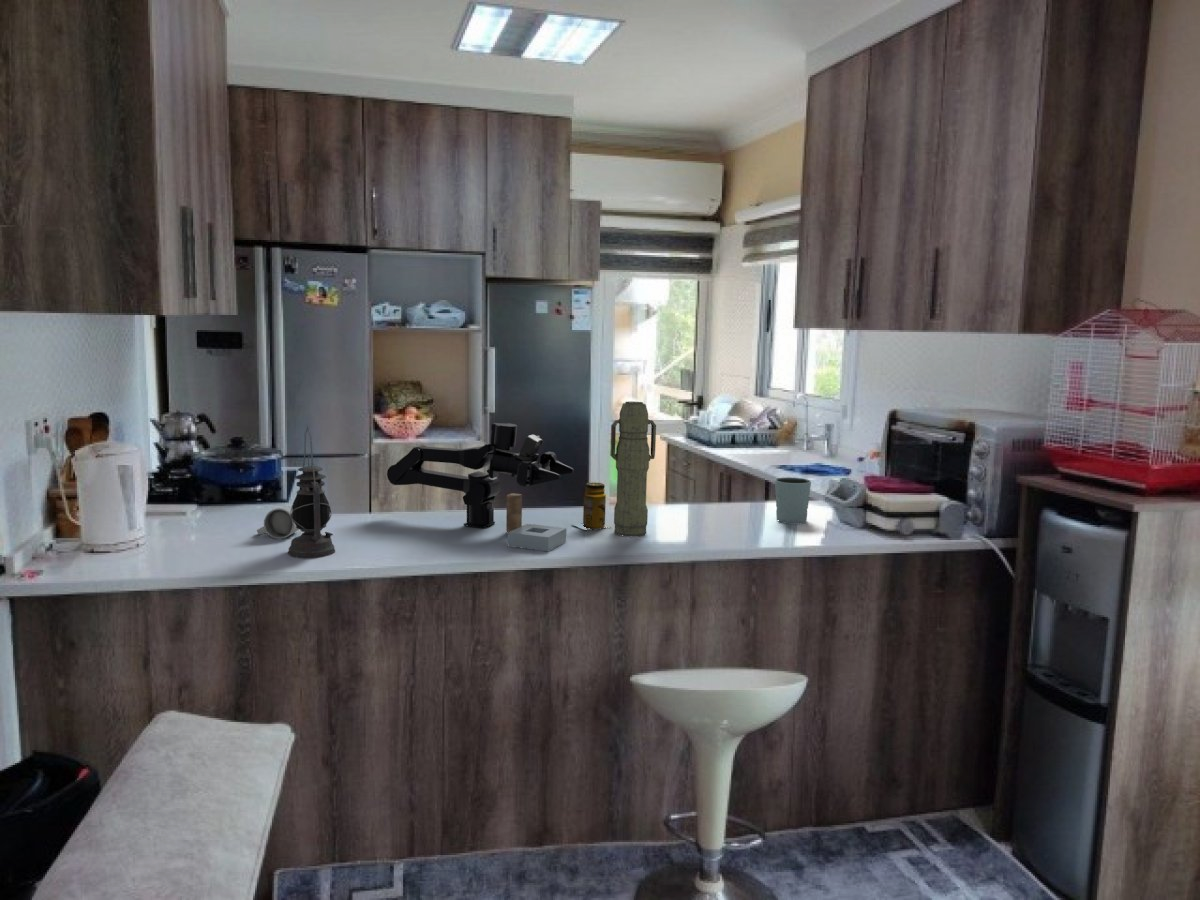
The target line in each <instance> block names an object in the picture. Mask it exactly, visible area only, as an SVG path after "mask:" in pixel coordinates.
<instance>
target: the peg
mask: <svg viewBox="0 0 1200 900" xmlns="http://www.w3.org/2000/svg"><path fill="white" fill-rule="evenodd" d="M522 517H523V494H520V493H510V494H509V493H508V494H507V495H506V517H505V518H506V526H505V527H506V528H505V530H506V531H507V532H510V531H512V530H514V529H517V528H519V527H521V526H523V525H522V524H523V520H522ZM506 531H505V532H506Z"/></svg>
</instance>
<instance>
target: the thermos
mask: <svg viewBox="0 0 1200 900" xmlns="http://www.w3.org/2000/svg"><path fill="white" fill-rule="evenodd" d="M618 424H619V425H618ZM617 425H618V432H619V436H618V442H617V444H616V435H617V433H616V430H617ZM649 425H651V430H650V445H649V443H648V442H649V441H648V440H649V439H648V433H649V432H648V431H649ZM610 429H611V430H610V451H609V453H610V454H609V456H610V457H611V458H612V459H613V460H615V469H616V473H617V476H616V477H617V478H616V479H617V480H616V502H615V505H614V507H613V508H614V509H613V510H614V511H613V525H614V530H613V531H614V532H613V533H614V534H615V535H617V536H620V535H623V536H622V537H627V536H638V537H643V536H645V534H646V535H647V526H648V516H649V515H648V513H649V512H648V511H649V509H648V507H647V486H648V485H647V484H648V483H647V477H648V471H649V468H650V461H651V460H654V459H655V458H656V457H655V456H656V441H657V440H656V439H657V425H656V423H655V422H654V420H653V419H649V412H648V408H647V404H646V403H644V402H643V401H625V402H623V403H622V405H621V408H620V411H619V419H617V420H614V421H613V422H612V424H611V425H610Z"/></svg>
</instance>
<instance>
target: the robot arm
mask: <svg viewBox="0 0 1200 900" xmlns="http://www.w3.org/2000/svg"><path fill="white" fill-rule="evenodd" d="M517 431H518V425H517V424H515V423H502V422H500V423H497V422H493V423H491V435H490V436H491V437H490V443H486V444H484V445H481V446H475V447H468V448H453V447H452V448H451V447H439V446H438V447H435V446H427V445H419V446H414V447H413V448H412V449H410V451H409V452H408V453H406V455H404V456H403V457H402V458H401V459H400V460H398V461H397V462H396V463H395V464H392V465H390V466H389V467H388V469H387V470H386V471H387V472H386V476H387V479H388V481H389V483H390V484H391V485H393V486H407V485H422V486H423V485H424V486H428V487H429V486H430V487H435V488H441V489H445V490H452V491H453V490H454V491H457V492H462V493H464V495H463V496H462V501H463V503H464V505H466V522H465V523H463V526H464V525H468V526H467V527H472V526H475V528H480V527H485V528H487V527H486V526H488V527H489V525H490V526H491V524H492V525H494V523H496V521H495V520H494V519H495V518H494V516H495V515H494V513H495V512H494V511H495V510H494V508H493V501H495V499H496V496H497V495H498V494H499V492H500V491H501V489H502V488H501V482H500V480H499V478H498V477H499V473H502V474H507V475H510V476H511V477H512V478H516V482H517V484H518V486H519V487H520V486H521V487H525V488H526V487H529V486H530V487H531V486H534V485H535V486H536V485H538V484H544V483H548V482H551V481H553V482H554V481H558V480H560V479H561V476H562V475H563V476H564V475H568V474H573V473H574V468H573V467H572V466H569V465H566V464H564V463H563V462H561V461H559V460H558V459H557V454H556V453H555V452H553V451H547V452H544V453H543V454H541V455H540V454H539V453H538V451H539V450H540V447H541V445H542V444H543V442H544V440H543V439H542V438H541V436H540V435H535V434H530V435H528V436H526V437H525V440H524V442H523V443H522V445H521V447H520V451H519V453H516V452H509V451H511V450H512V448H515V447H516V440H517ZM539 458H540V459H539ZM425 462H433V463H445V464H456V465H460V466H461V467H463V468H467V469H471V470H475V471H474V472H471V473H468V474H467V476H466V475H461V474H454V473H448V472H443V471H435V470H429V469H424V468H423V465H424V464H425ZM487 467H489V468H488V469H487V470H486V472H483V471H478V470H480V469H484V468H487ZM476 470H477V471H476Z"/></svg>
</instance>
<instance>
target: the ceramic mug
mask: <svg viewBox="0 0 1200 900" xmlns="http://www.w3.org/2000/svg"><path fill="white" fill-rule="evenodd" d="M291 508H292V505H282V506H280V507H277V508H274V509H272V510H270V511H268V512H267V513H266V515H265V517H264V519H263V526H261V527H260V528H258V529H256V532H257V534H258V536H261V535H263V534H264V535H265V534H266V533H267V535H268V536H270V537H271V538H273V539H276V540H277V539H278V540H283V539H285V538H287V537H290V536H291V535H292V534H294V533H297V531H299V530H300V529H297V528H296V525H295V523H294V522H293V520H292V518H291V515H290V513H291V514H292V511H291Z"/></svg>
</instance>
